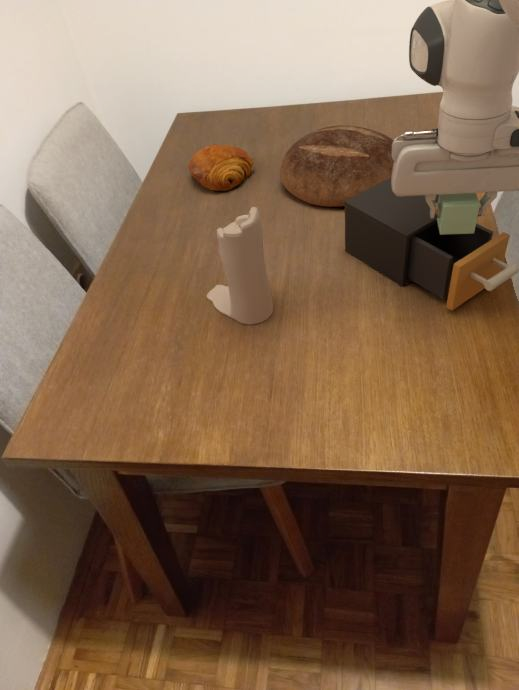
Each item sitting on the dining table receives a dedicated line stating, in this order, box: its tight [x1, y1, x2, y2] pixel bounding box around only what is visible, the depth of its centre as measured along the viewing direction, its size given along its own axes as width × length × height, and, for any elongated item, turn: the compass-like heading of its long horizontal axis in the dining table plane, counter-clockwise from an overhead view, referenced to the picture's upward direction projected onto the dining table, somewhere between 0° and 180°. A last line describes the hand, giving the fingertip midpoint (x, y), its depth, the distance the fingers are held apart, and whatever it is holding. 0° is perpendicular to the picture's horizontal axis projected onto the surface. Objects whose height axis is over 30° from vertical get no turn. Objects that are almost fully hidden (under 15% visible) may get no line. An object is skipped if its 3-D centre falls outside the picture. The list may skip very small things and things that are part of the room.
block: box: [437, 193, 480, 235], centre depth 80 cm, size 5×5×5 cm
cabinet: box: [344, 177, 439, 288], centre depth 93 cm, size 15×13×11 cm
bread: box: [279, 125, 394, 208], centre depth 114 cm, size 26×27×10 cm
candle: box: [206, 206, 274, 326], centre depth 86 cm, size 7×14×20 cm, turn 50°
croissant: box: [187, 143, 254, 192], centre depth 123 cm, size 14×16×8 cm
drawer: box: [406, 222, 519, 311], centre depth 85 cm, size 18×11×9 cm, turn 36°
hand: (456, 215), depth 81 cm, fingers closed on block, 5 cm apart
